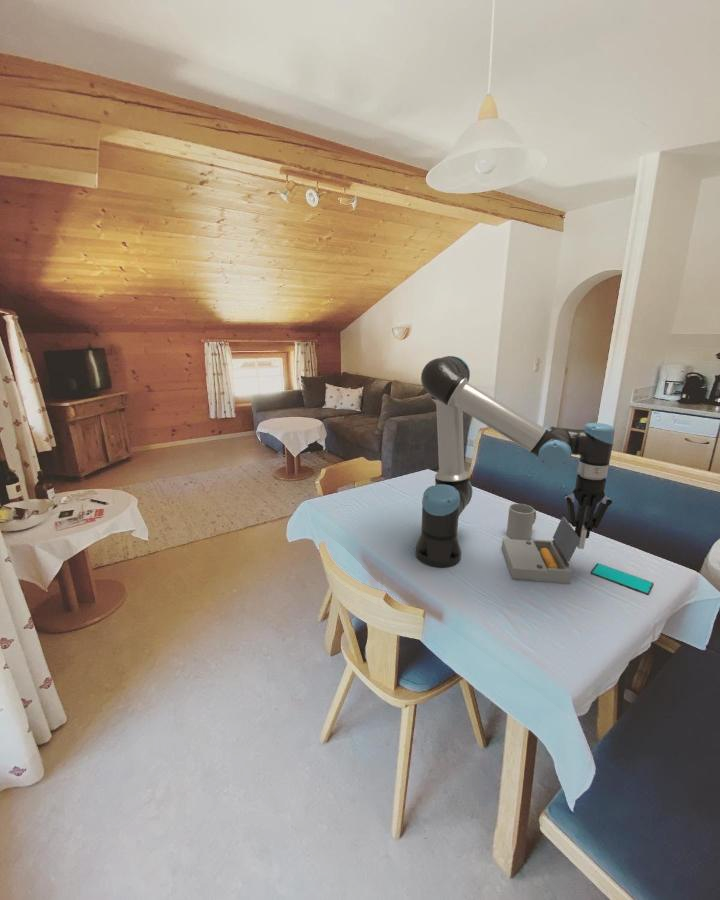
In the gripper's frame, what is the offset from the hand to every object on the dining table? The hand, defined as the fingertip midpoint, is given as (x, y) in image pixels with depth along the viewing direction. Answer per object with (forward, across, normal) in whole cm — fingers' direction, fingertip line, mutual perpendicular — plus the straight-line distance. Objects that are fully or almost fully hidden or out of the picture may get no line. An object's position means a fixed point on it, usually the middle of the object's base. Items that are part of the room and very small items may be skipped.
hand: (579, 546), depth 122 cm
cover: (-2, -5, 0) cm, 5 cm away
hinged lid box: (+8, -13, 0) cm, 15 cm away
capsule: (+6, -8, 0) cm, 10 cm away
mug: (+8, -12, +20) cm, 25 cm away
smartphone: (+8, +11, -4) cm, 15 cm away
